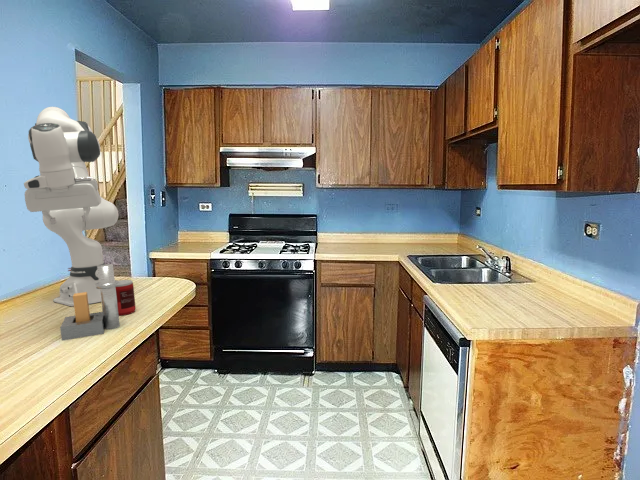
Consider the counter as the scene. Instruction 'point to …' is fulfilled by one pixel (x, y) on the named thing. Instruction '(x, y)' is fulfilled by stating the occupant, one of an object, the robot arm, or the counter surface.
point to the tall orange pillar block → (81, 307)
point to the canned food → (125, 297)
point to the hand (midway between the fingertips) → (69, 222)
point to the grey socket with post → (99, 319)
